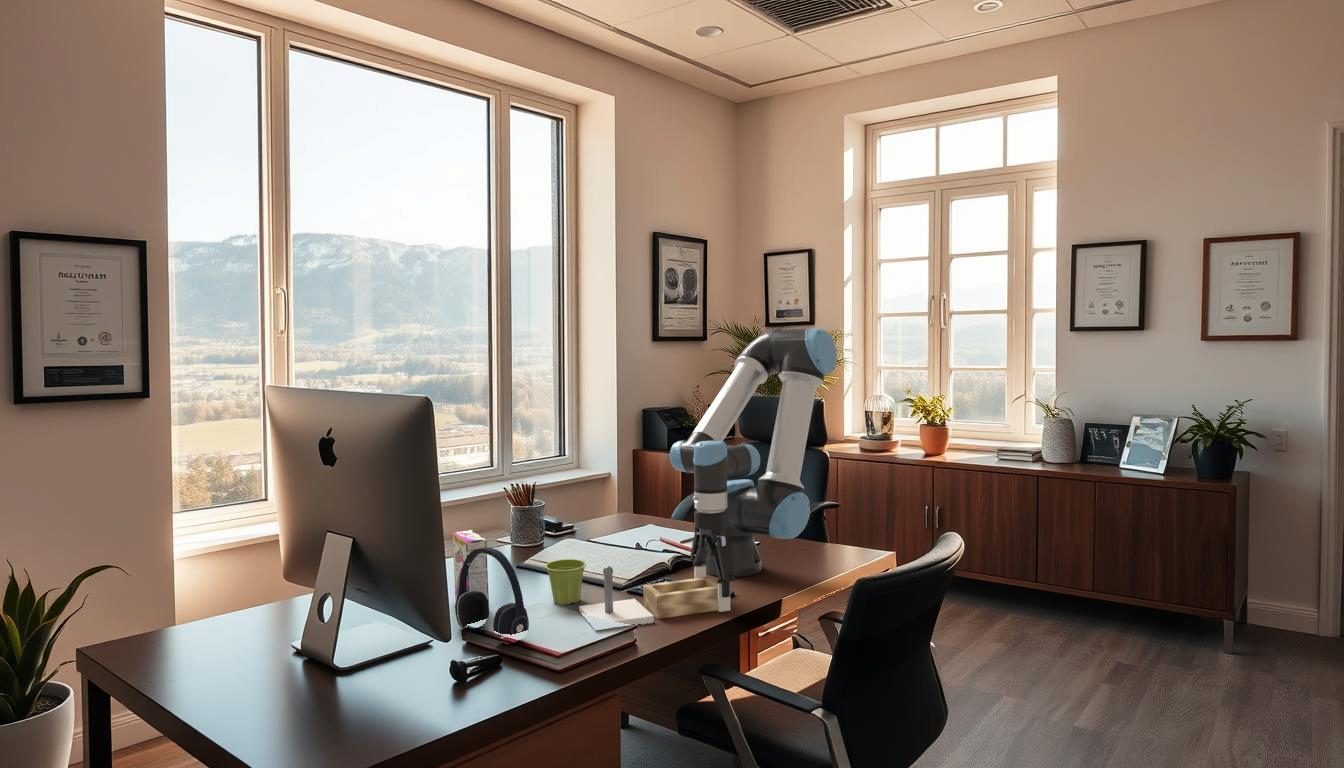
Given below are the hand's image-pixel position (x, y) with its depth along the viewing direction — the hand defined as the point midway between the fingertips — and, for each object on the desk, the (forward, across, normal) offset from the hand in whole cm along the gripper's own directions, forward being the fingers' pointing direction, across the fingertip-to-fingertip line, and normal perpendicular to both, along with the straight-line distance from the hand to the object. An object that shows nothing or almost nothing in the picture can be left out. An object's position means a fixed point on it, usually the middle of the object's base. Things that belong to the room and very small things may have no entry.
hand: (711, 602), depth 199 cm
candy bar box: (+1, -22, -51) cm, 55 cm away
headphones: (+1, 0, -50) cm, 50 cm away
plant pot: (+1, -16, -30) cm, 34 cm away
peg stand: (+1, 0, -23) cm, 23 cm away
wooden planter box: (0, 0, -7) cm, 7 cm away
